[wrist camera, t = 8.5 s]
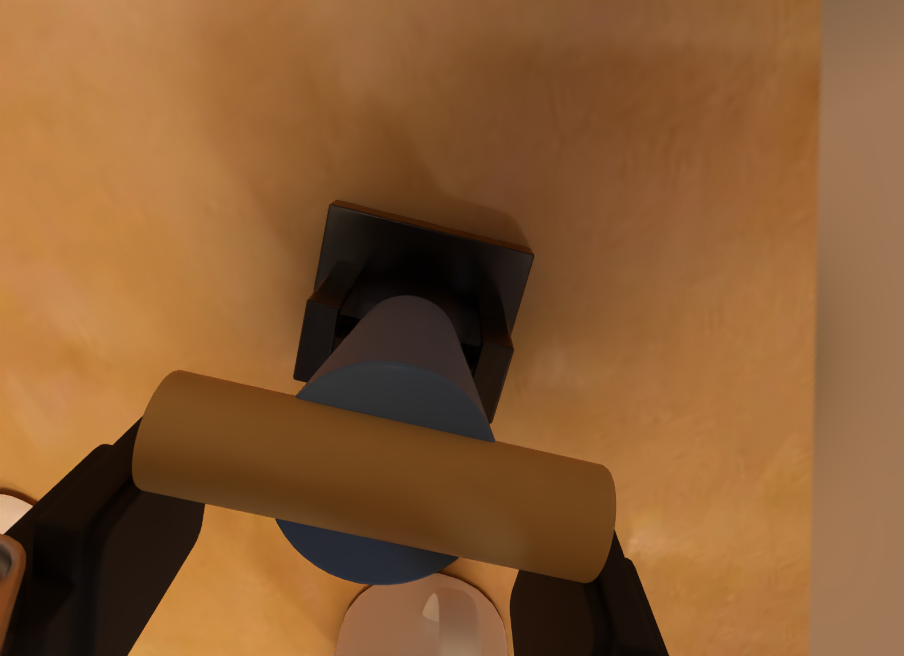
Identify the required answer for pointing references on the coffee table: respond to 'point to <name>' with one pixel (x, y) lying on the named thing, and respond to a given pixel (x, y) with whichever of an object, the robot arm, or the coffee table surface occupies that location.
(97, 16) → the coffee table surface
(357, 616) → the mug
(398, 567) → the t-shaped handle
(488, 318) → the bracket
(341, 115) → the coffee table surface
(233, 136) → the coffee table surface
